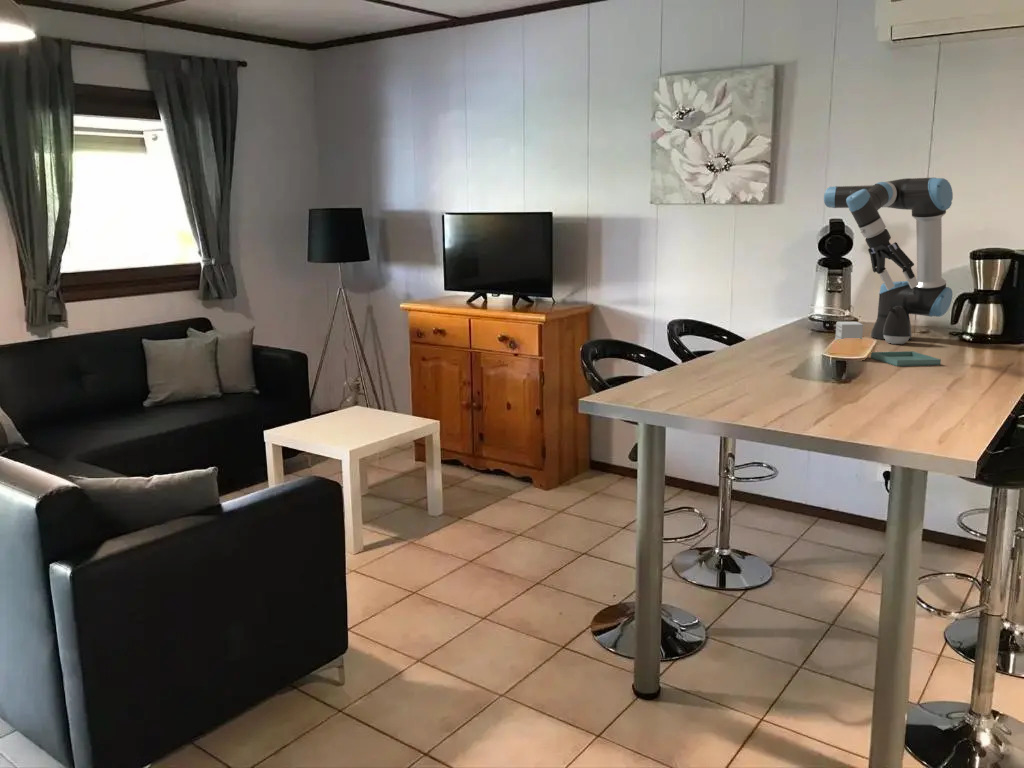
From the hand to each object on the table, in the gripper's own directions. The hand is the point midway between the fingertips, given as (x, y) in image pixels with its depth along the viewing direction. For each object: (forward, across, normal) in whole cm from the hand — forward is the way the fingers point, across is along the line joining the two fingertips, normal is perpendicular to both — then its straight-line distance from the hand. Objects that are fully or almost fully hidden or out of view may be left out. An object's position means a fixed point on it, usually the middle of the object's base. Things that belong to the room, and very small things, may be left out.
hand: (902, 287), depth 288 cm
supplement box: (+15, -12, -24) cm, 30 cm away
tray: (+23, -2, -11) cm, 26 cm away
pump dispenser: (+29, -37, +8) cm, 48 cm away
